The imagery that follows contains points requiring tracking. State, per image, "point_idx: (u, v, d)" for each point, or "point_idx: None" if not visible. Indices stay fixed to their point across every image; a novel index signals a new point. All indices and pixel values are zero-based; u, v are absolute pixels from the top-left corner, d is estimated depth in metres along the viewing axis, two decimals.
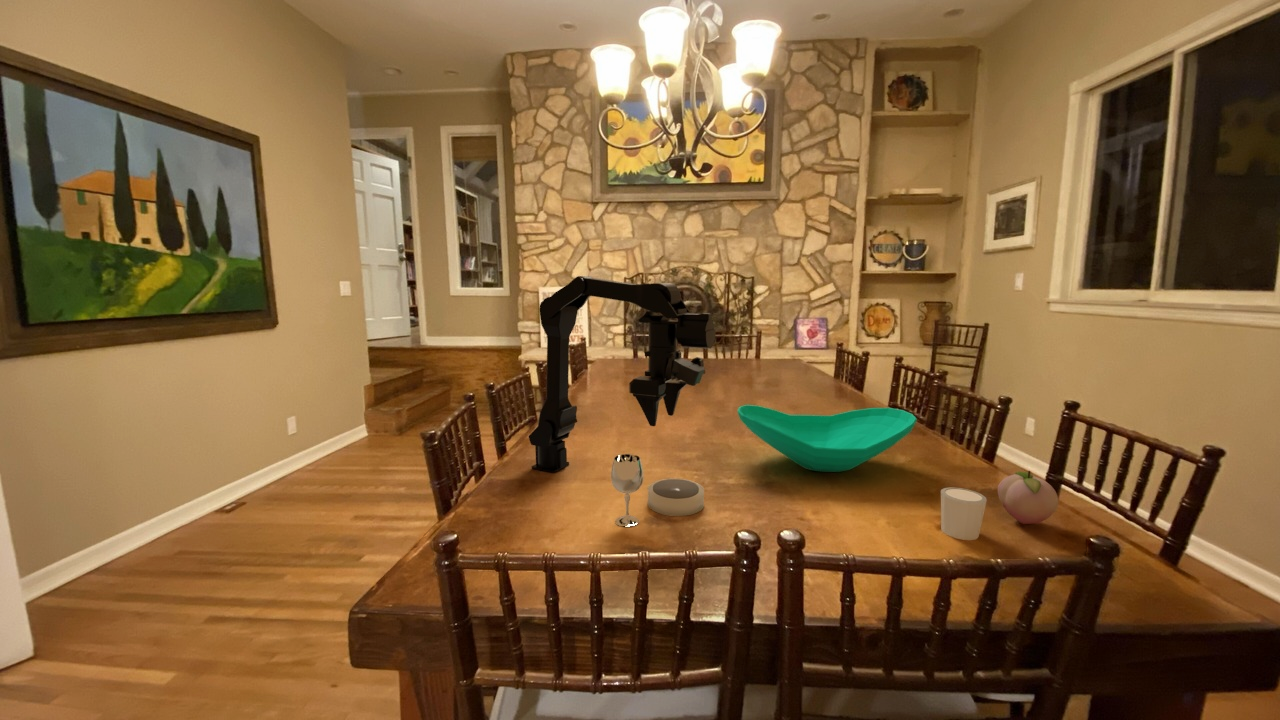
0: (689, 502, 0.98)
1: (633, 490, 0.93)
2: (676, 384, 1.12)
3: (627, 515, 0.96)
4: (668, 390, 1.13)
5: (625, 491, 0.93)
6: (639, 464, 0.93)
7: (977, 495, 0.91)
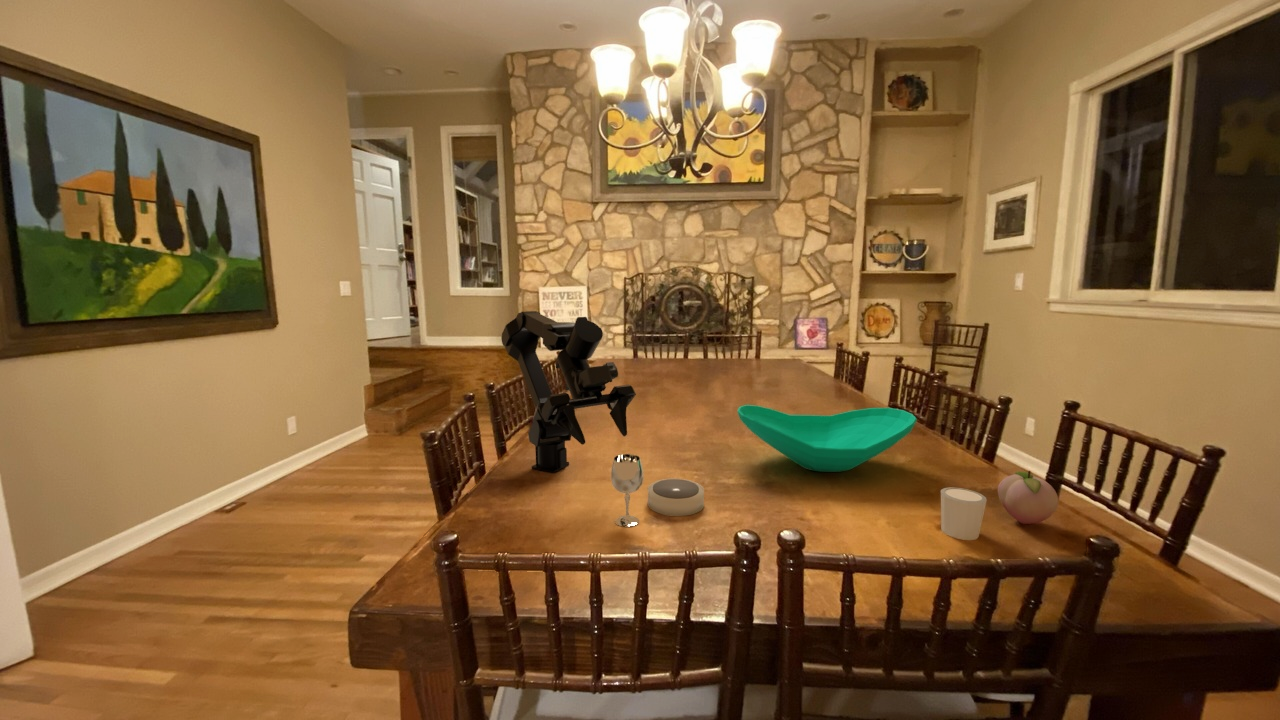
0: (689, 502, 0.98)
1: (633, 490, 0.93)
2: (617, 403, 1.06)
3: (627, 515, 0.96)
4: (615, 414, 1.06)
5: (625, 491, 0.93)
6: (639, 464, 0.93)
7: (977, 495, 0.91)
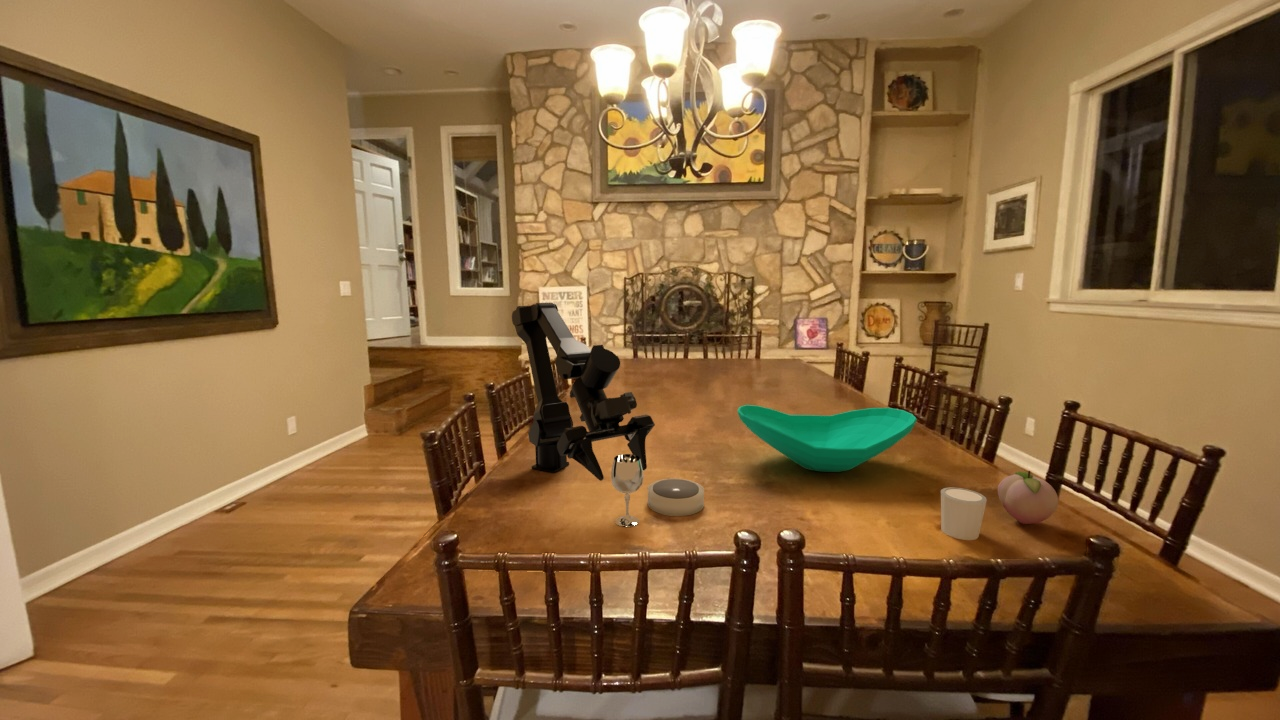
0: (689, 502, 0.98)
1: (633, 490, 0.93)
2: (635, 434, 1.01)
3: (627, 515, 0.96)
4: (633, 446, 1.01)
5: (625, 491, 0.93)
6: (639, 464, 0.93)
7: (977, 495, 0.91)
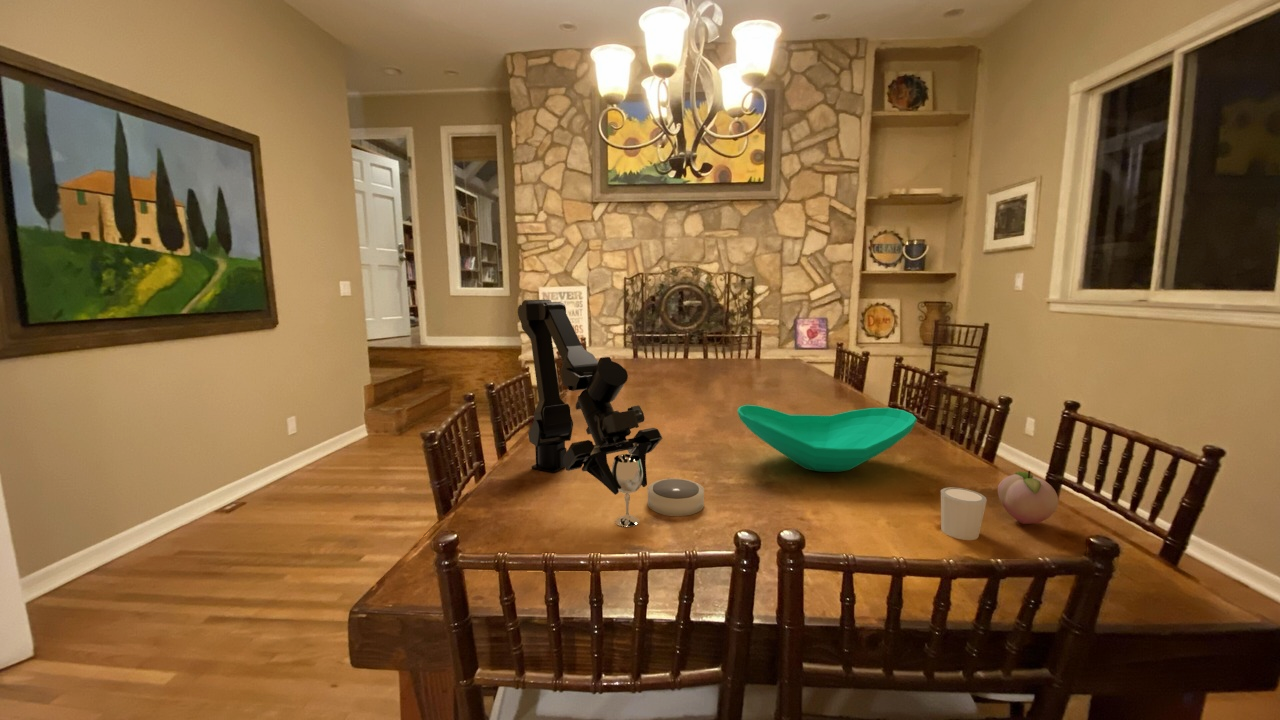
0: (689, 502, 0.98)
1: (633, 490, 0.93)
2: (635, 450, 0.98)
3: (627, 515, 0.96)
4: None
5: (625, 491, 0.93)
6: (639, 464, 0.93)
7: (977, 495, 0.91)
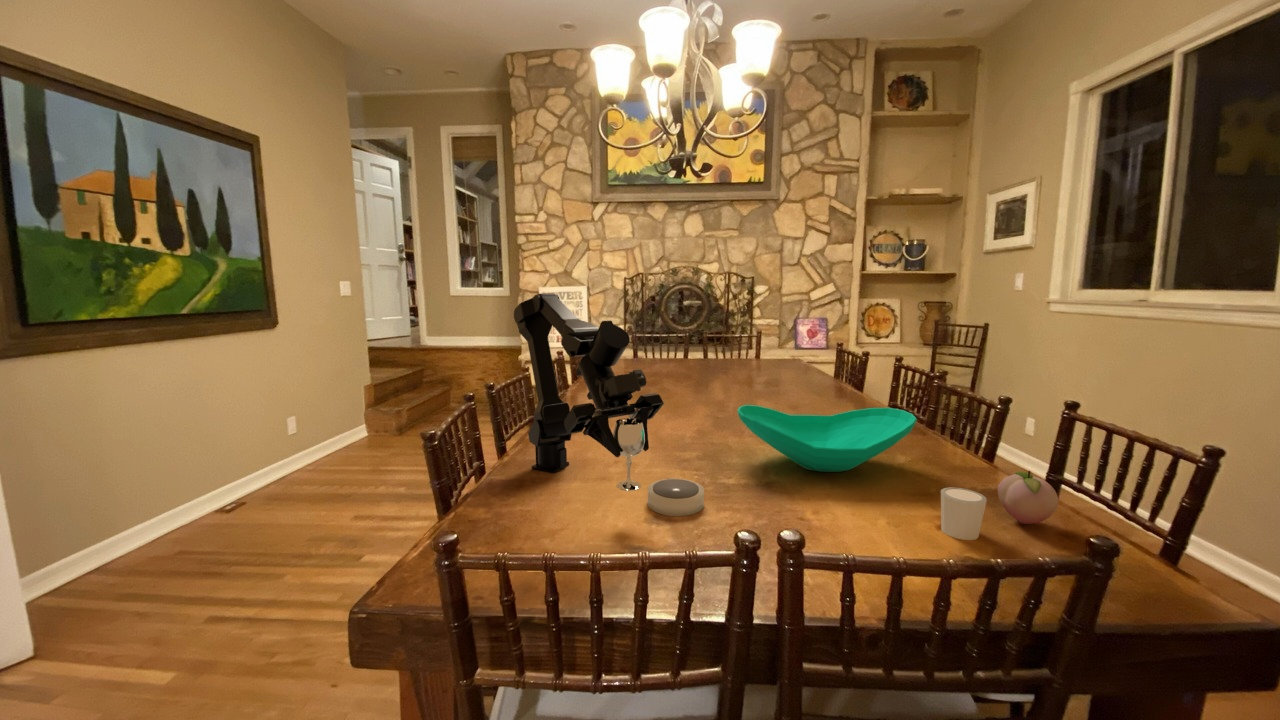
0: (689, 502, 0.98)
1: (635, 453, 0.92)
2: (637, 414, 0.98)
3: (629, 479, 0.95)
4: None
5: (627, 454, 0.92)
6: (641, 427, 0.92)
7: (977, 495, 0.91)
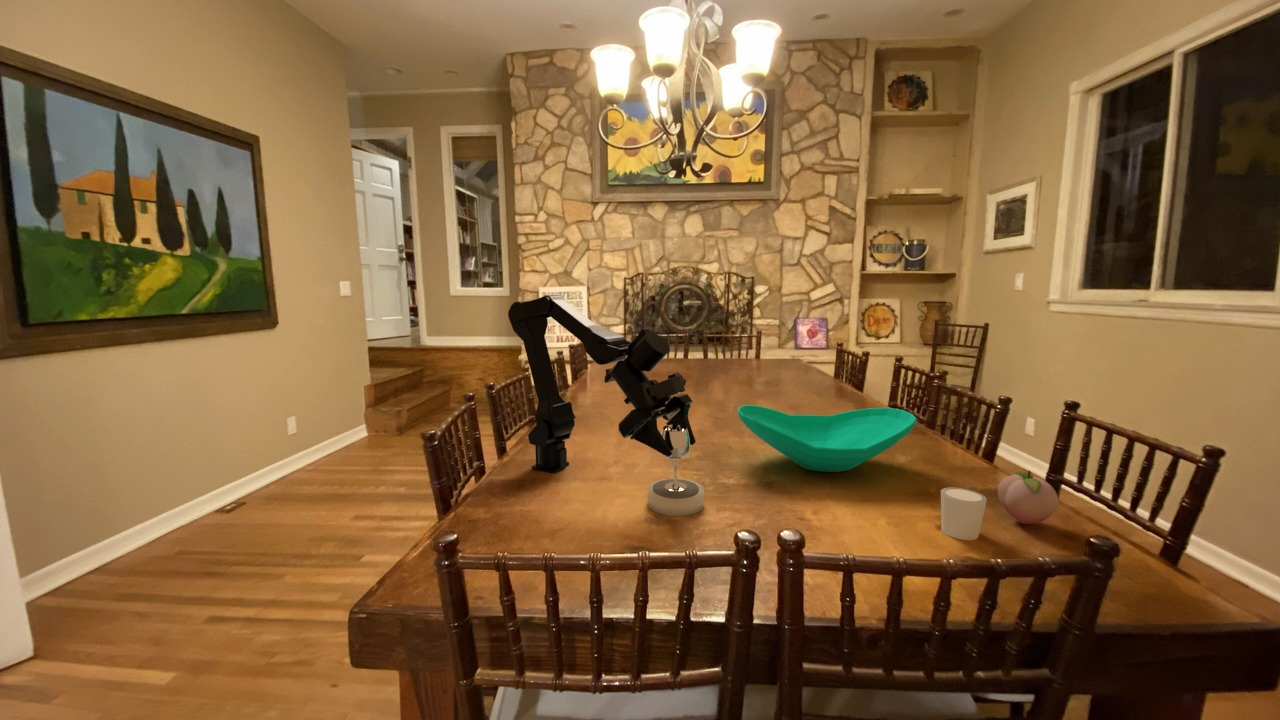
0: (689, 502, 0.98)
1: (685, 456, 1.01)
2: (678, 413, 1.07)
3: (676, 481, 1.03)
4: (676, 424, 1.07)
5: (679, 458, 1.00)
6: (687, 431, 1.01)
7: (977, 495, 0.91)
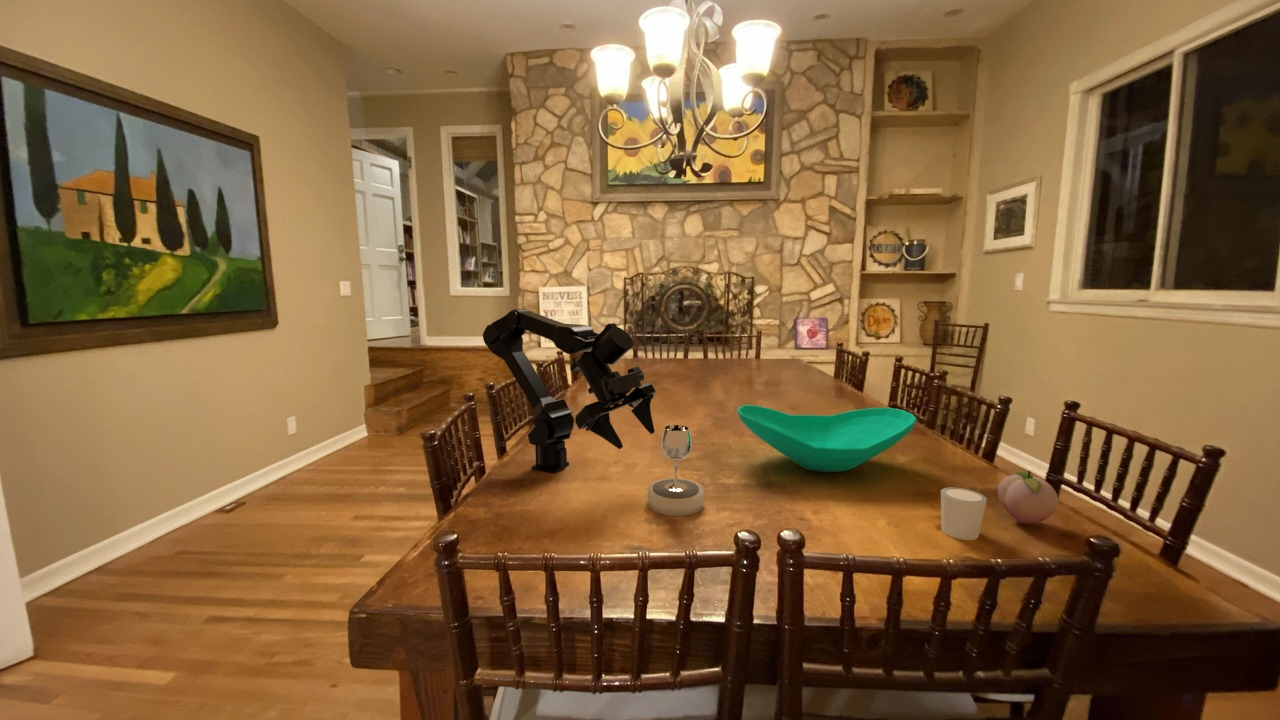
0: (689, 502, 0.98)
1: (686, 456, 1.01)
2: (640, 402, 1.12)
3: (676, 481, 1.03)
4: (639, 412, 1.12)
5: (680, 458, 1.00)
6: (689, 432, 1.01)
7: (977, 495, 0.91)
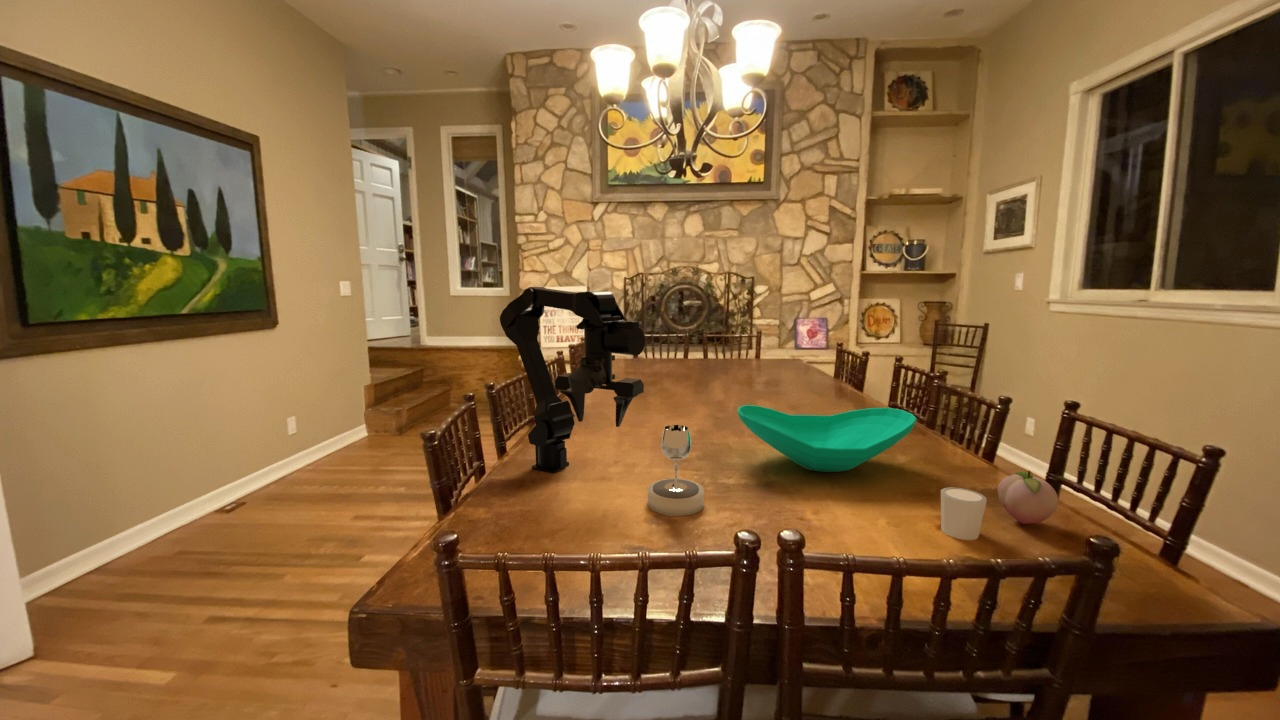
0: (689, 502, 0.98)
1: (686, 456, 1.01)
2: None
3: (676, 481, 1.03)
4: None
5: (679, 458, 1.00)
6: None
7: (977, 495, 0.91)
